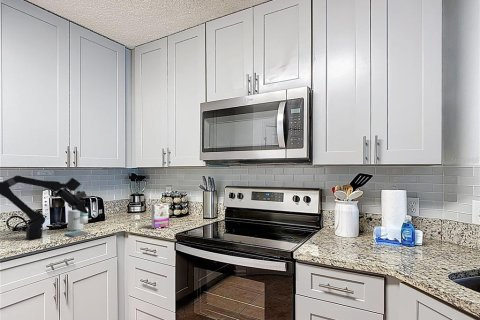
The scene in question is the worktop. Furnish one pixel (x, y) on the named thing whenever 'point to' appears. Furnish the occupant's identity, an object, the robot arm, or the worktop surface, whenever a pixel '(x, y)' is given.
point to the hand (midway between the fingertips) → (86, 212)
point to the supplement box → (74, 220)
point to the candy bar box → (160, 215)
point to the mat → (76, 234)
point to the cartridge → (84, 217)
